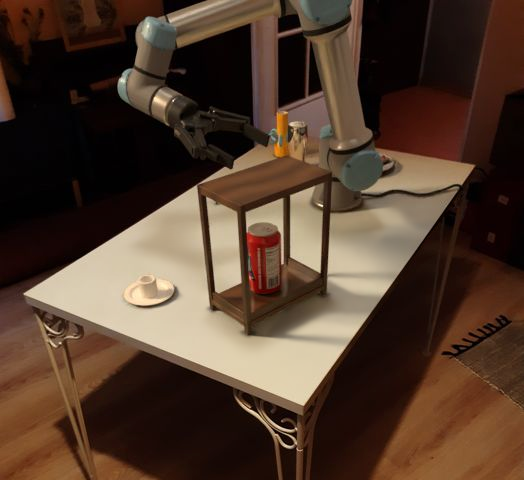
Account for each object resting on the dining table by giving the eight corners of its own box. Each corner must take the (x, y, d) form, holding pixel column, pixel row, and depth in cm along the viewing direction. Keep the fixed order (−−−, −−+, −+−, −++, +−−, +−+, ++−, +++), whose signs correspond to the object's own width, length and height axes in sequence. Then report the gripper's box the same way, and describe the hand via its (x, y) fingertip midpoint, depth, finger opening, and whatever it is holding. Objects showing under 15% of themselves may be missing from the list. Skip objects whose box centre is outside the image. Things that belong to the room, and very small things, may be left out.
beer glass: (286, 165, 201) (285, 121, 192) (305, 163, 201) (306, 120, 192) (288, 172, 195) (288, 127, 186) (308, 170, 196) (309, 126, 187)
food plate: (406, 165, 197) (408, 155, 195) (366, 185, 184) (367, 174, 182) (349, 150, 211) (350, 140, 209) (308, 167, 198) (309, 157, 196)
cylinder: (294, 161, 203) (294, 118, 194) (265, 160, 205) (264, 117, 196) (299, 149, 213) (299, 108, 204) (272, 148, 215) (271, 107, 205)
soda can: (273, 299, 127) (272, 239, 118) (242, 292, 129) (238, 233, 120) (287, 282, 132) (286, 223, 123) (256, 276, 135) (254, 218, 126)
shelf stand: (209, 308, 130) (196, 184, 112) (287, 272, 142) (286, 155, 124) (247, 335, 122) (240, 206, 103) (326, 294, 133) (332, 171, 115)
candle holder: (132, 280, 141) (129, 265, 138) (179, 281, 140) (177, 266, 137) (118, 307, 132) (114, 291, 129) (168, 308, 131) (165, 293, 128)
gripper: (208, 109, 140) (278, 147, 135) (138, 145, 125) (214, 189, 120) (211, 80, 134) (284, 118, 129) (139, 113, 119) (218, 157, 114)
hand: (251, 152), depth 124 cm, fingers open, 13 cm apart
